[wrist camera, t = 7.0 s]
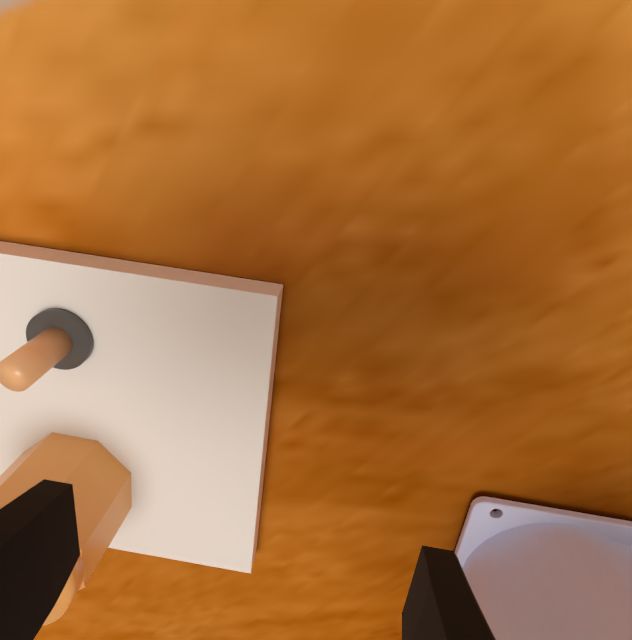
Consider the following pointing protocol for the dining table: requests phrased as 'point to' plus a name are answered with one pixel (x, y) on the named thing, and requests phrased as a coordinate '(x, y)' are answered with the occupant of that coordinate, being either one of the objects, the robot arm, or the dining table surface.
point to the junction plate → (146, 389)
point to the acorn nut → (76, 497)
